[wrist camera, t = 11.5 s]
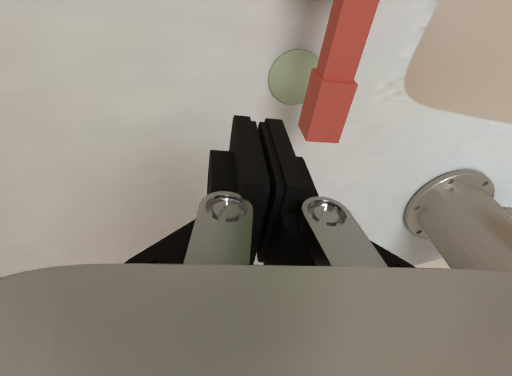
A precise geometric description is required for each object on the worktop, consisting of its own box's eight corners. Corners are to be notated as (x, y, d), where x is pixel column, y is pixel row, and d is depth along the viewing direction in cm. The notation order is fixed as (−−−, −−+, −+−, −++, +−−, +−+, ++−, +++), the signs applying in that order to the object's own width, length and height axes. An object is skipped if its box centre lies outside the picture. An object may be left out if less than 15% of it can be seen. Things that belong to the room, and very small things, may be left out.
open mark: (328, 52, 34) (329, 53, 34) (313, 105, 37) (314, 106, 37) (274, 45, 33) (274, 46, 33) (264, 100, 36) (264, 101, 36)
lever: (363, -174, 19) (385, -186, 17) (421, -159, 20) (449, -168, 17) (293, 124, 30) (301, 140, 28) (332, 127, 31) (342, 143, 28)
